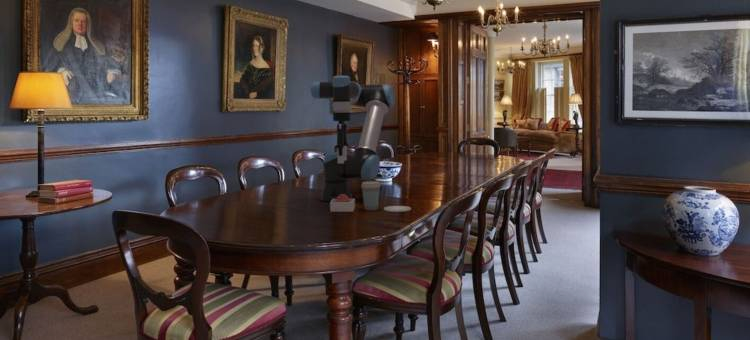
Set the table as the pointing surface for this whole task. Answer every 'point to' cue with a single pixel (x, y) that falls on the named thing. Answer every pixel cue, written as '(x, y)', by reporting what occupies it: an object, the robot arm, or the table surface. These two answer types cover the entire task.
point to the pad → (397, 208)
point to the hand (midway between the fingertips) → (342, 161)
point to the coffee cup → (370, 194)
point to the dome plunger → (343, 198)
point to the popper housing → (342, 206)
